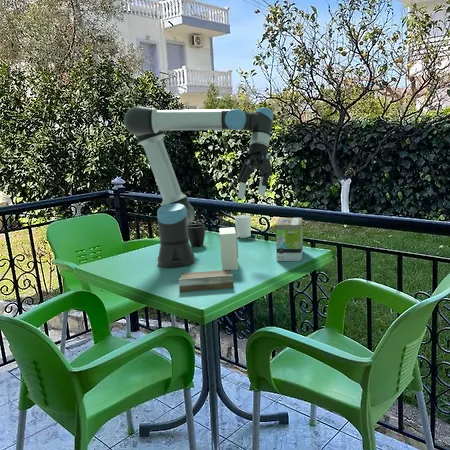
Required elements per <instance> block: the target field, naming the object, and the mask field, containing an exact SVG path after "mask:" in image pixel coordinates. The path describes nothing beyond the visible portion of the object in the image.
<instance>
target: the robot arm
mask: <svg viewBox="0 0 450 450" xmlns="http://www.w3.org/2000/svg"><path fill="white" fill-rule="evenodd" d="M273 121H274V112H273V110H272V109H270V108H268V107H258V108H257V109H256V110H255V112H252V111H251V112H250V111H243V110H242V109H239V108H232V109H229V108H227V109H181V110H180V109H176V110H175V109H174V110H173V109H171V110H169V109H168V110H163V109H162V110H158V109H157V108H156V107H149V106H143V105H142V106H140V105H136V106H133V107H131V108H129V109H128V110H127V111H126V113H125V114H124V119H123V123H124V126H125V129H126V130H127V131H128V132H129V133H130V134H131V135H133V136H134V137H135V139H136V141H137V143H138V145H141V146H142V147H143V149H144V152H145V155H146V157H147V161H148V163H149V166H150V168H151V171H152V173H153V176H154V179H155V182H156V185H157V188H158V191H159V193H160V196H161V197H162V201H161V204H160V205H161V206H160V207H159V208H158V209H157V211H156V214H157V215H156V218H157V228H158V236H159V242H160V244H159V246H160V247H159V252H158V256H157V265H158V266H159V267H162V268H180V267H185V266H186V267H187V266H189V265H192V264H193V263H194V262H195V261H196V260H195V259H196V257H195V253H194V252H193V249H192V246H191V244H190V241H189V238H188V227H189V226H190V225H192V224H193V222H194V220H195V215H196V214H195V213H196V212H195V209H194V207H193V205H191V203H190V201H189V199H188V196H187V195H186V194H185V193H182V190H181V187H180V184H179V182H178V179H177V176H176V173H175V170H174V169H173V165H172V163H171V160H170V159H171V158H170V156H169V154H168V151H167V148H166V145H165V143H164V137H165V133H164V132H165V131H213V130H215V131H216V130H217V131H220V130H221V131H222V130H223V131H227V130H229V131H231V130H232V131H246V132H251V135H250V136H251V137H250V142H249V144H250V145H249V146H248V147H249V149H248V155H249V156H250V157H249V159H247V158H246V159H244V162H243V165H242V166H241V167H242V168H241V169H240V172H239V175H238V177H237V179H236V182H237V183H239V186H238V194H237V198H238V199H240V200H244V199H245V194H246V189H247V182H248V179H249V178H250V176H251V174H252V173H253V172H255V170H256V169H259V172H260V174H261V176H260V179H259V185H258V191H257V194H259V195H262V196H265V195H266V189H267V186H268V180H269V178H270V177H272V176H273V170H272V165H271V154H268V153H269V152H268V151H269V146H270V138H271V134H272V128H273Z"/></svg>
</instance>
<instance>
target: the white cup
mask: <svg viewBox="0 0 450 450" xmlns="http://www.w3.org/2000/svg"><path fill="white" fill-rule="evenodd" d="M234 224H235V231H236V236H237V238H239V237H240V239H246V238H249V237H251V236H252V235H251V231H252V216H251V215H249V214H239V215H235V216H234Z"/></svg>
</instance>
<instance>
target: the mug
mask: <svg viewBox="0 0 450 450" xmlns="http://www.w3.org/2000/svg"><path fill="white" fill-rule="evenodd" d="M188 238H189V244H190V246H191V248H201V247H203V246H204V243H205V238H206V228H205V224H204V223H194V224H193V223H192V224H191V225H190V226H189V227H188Z"/></svg>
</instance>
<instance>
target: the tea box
mask: <svg viewBox="0 0 450 450" xmlns="http://www.w3.org/2000/svg"><path fill="white" fill-rule="evenodd" d="M275 237H276V238H275V239H276V243H275V244H276V248H275V249H276V261H277V262H301V261H302V258H303V252H304V238H303V237H304V236H303V217H279V218H278V219H277V222H276V224H275Z"/></svg>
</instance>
